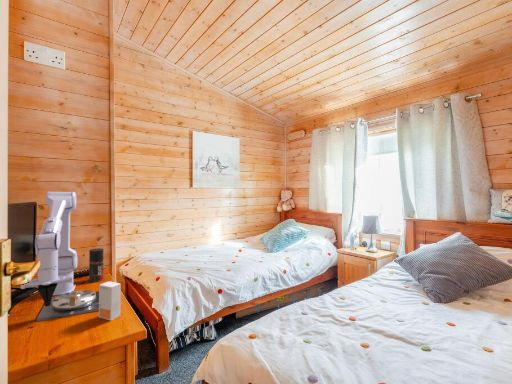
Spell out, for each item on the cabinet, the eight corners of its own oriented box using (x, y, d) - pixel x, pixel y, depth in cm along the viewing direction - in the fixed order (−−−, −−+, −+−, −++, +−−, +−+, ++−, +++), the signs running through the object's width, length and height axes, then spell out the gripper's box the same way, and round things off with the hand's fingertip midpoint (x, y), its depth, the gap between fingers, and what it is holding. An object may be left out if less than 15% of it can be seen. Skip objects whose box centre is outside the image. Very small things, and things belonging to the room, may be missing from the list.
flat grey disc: (56, 298, 108) (56, 285, 108) (96, 292, 115) (96, 279, 115) (48, 315, 94) (48, 300, 94) (94, 307, 101) (94, 293, 101)
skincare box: (98, 318, 96) (98, 284, 96) (108, 312, 100) (108, 280, 100) (111, 321, 94) (111, 287, 93) (121, 315, 98) (121, 283, 97)
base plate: (47, 301, 108) (47, 298, 108) (104, 292, 118) (104, 290, 118) (36, 323, 92) (36, 319, 92) (103, 311, 101) (103, 308, 101)
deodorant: (96, 282, 129) (97, 251, 129) (86, 281, 130) (86, 250, 130) (106, 278, 135) (106, 248, 135) (95, 277, 136) (96, 248, 136)
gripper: (18, 273, 89) (18, 314, 89) (71, 267, 96) (71, 305, 96) (24, 267, 95) (24, 305, 95) (73, 262, 102) (73, 298, 102)
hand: (48, 305), depth 96 cm, fingers closed
